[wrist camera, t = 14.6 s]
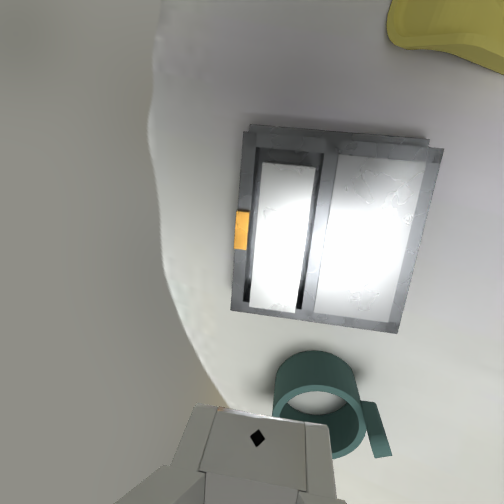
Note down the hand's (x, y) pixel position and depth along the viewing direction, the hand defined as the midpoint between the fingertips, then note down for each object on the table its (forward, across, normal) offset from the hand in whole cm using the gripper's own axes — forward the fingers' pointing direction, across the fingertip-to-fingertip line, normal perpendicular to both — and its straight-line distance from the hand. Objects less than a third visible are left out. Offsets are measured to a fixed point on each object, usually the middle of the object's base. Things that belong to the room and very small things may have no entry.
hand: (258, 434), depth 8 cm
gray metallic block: (+22, 0, 0) cm, 22 cm away
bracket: (+23, -5, +17) cm, 29 cm away
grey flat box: (+23, -3, 0) cm, 23 cm away
